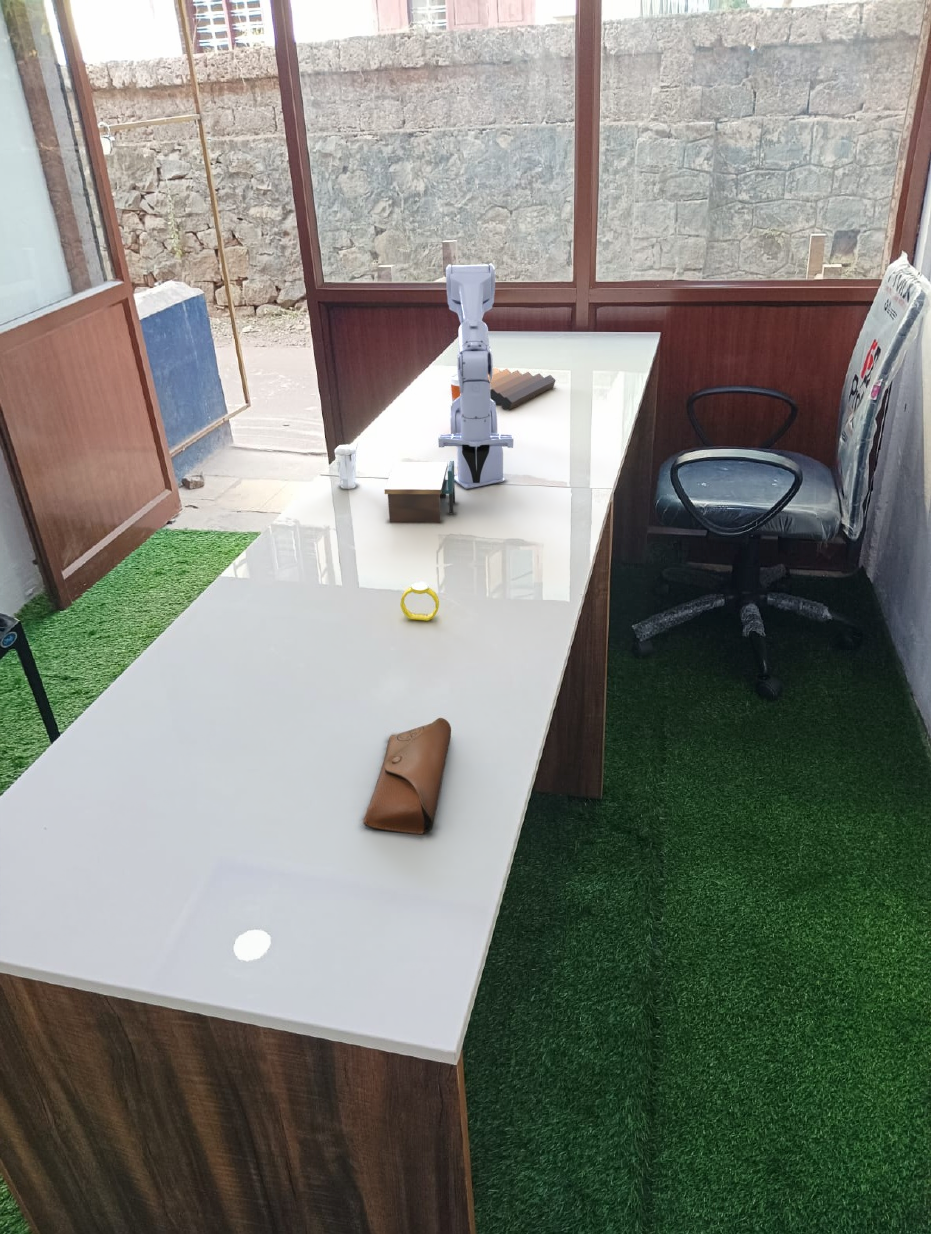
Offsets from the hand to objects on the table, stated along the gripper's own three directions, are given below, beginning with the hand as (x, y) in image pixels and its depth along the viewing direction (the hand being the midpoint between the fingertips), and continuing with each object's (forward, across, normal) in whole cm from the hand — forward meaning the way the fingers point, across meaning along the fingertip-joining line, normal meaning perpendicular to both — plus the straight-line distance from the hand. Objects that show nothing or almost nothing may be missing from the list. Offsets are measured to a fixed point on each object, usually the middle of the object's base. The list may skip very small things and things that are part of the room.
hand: (476, 481), depth 182 cm
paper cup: (+6, -6, +48) cm, 49 cm away
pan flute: (+6, 0, +84) cm, 84 cm away
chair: (+6, -8, 0) cm, 10 cm away
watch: (+6, -6, -45) cm, 46 cm away
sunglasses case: (+6, -3, -85) cm, 85 cm away
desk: (+6, -12, 0) cm, 13 cm away
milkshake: (+6, -28, +12) cm, 31 cm away
